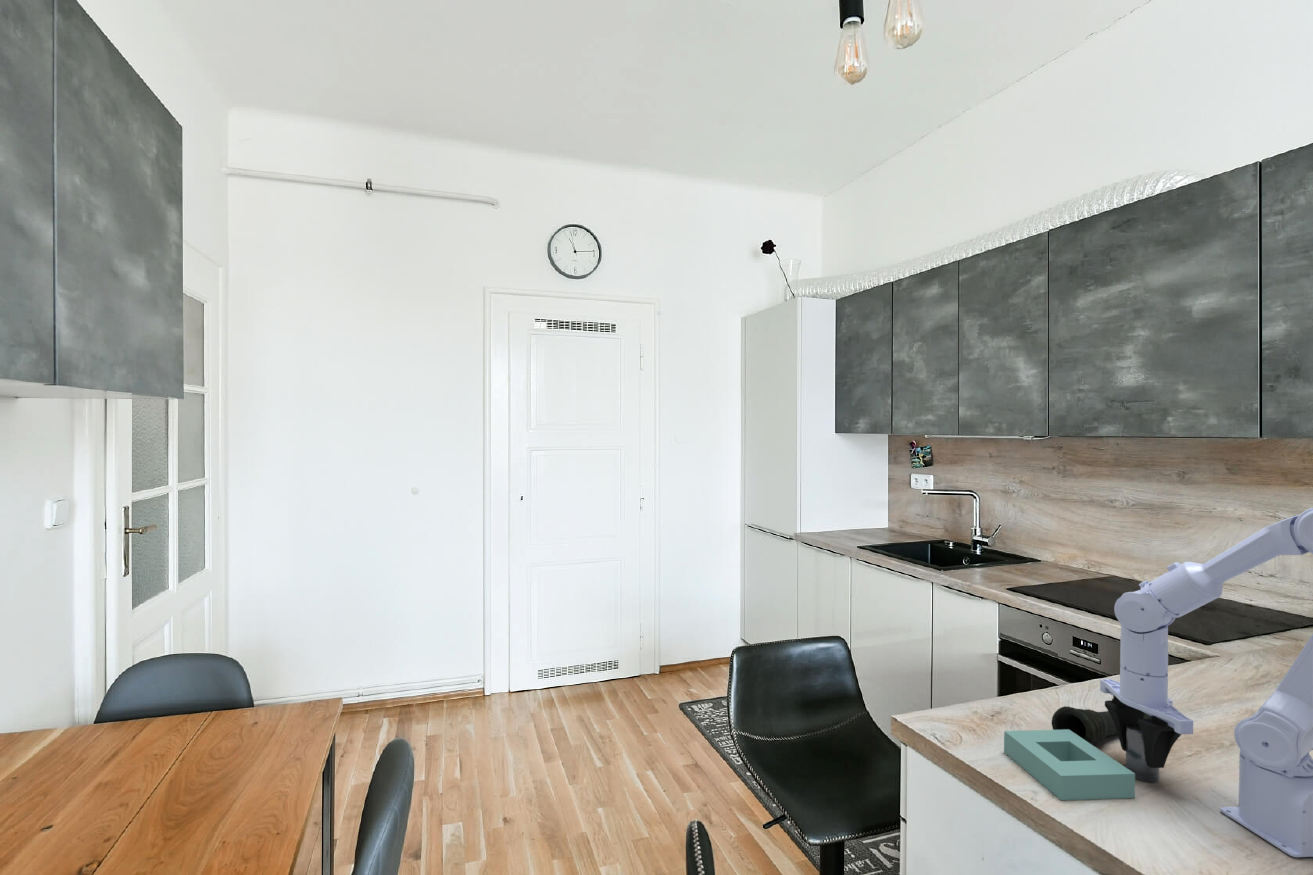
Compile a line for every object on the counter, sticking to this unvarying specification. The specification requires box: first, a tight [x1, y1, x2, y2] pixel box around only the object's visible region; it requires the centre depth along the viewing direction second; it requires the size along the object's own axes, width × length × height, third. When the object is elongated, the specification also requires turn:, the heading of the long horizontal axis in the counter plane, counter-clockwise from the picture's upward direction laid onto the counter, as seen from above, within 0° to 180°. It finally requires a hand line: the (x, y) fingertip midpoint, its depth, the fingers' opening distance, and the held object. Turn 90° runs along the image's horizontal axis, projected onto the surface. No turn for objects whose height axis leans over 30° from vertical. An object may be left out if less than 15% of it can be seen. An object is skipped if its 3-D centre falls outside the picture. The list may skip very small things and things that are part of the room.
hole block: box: [1003, 729, 1136, 801], centre depth 94 cm, size 13×11×4 cm
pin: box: [1125, 724, 1160, 784], centre depth 94 cm, size 4×4×7 cm
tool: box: [1051, 705, 1151, 745], centre depth 106 cm, size 28×6×7 cm, turn 110°
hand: (1142, 758), depth 94 cm, fingers open, 4 cm apart
